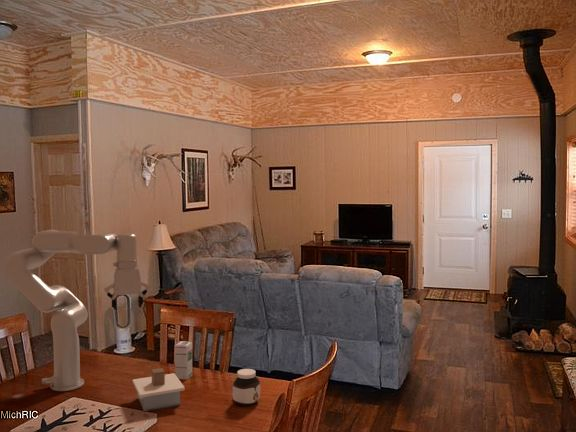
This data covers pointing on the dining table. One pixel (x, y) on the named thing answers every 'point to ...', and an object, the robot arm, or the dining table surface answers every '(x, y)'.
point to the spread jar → (246, 387)
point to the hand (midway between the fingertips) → (127, 307)
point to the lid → (158, 384)
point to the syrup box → (183, 360)
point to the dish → (160, 401)
